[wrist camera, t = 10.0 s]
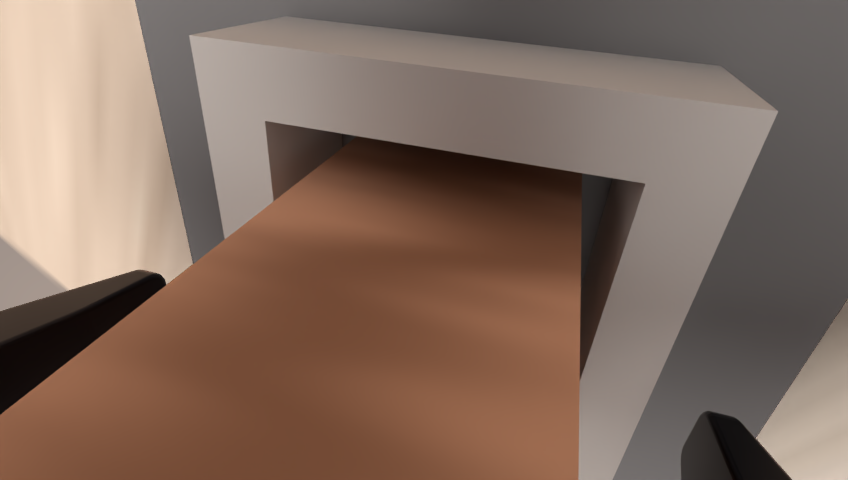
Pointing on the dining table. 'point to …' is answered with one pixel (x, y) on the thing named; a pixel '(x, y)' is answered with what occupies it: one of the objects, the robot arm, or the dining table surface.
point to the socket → (564, 166)
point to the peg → (342, 339)
